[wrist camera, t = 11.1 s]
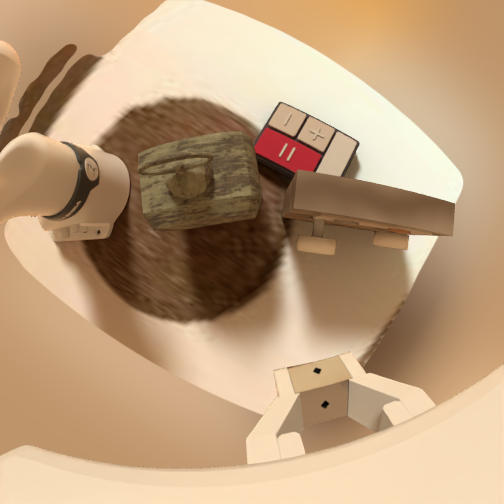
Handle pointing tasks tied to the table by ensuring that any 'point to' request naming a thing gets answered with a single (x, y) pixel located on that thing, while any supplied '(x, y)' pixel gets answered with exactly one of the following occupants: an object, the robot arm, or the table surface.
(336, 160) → the calculator
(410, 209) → the button panel
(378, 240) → the button
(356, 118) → the table surface
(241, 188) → the tabletop clock
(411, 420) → the robot arm
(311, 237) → the button
